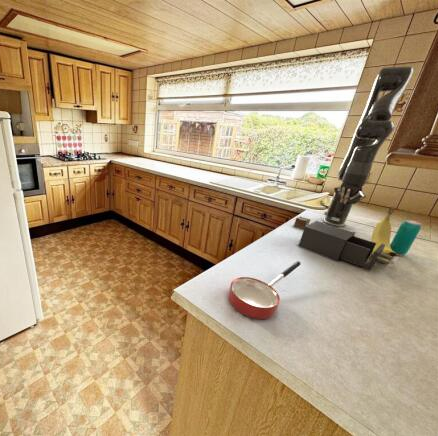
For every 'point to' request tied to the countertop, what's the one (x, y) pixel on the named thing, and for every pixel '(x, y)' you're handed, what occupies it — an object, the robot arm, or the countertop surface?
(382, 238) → the banana
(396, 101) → the robot arm
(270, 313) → the frying pan
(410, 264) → the countertop surface
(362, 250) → the basket
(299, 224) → the block
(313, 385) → the countertop surface
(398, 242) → the beverage can
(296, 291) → the countertop surface
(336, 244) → the block
